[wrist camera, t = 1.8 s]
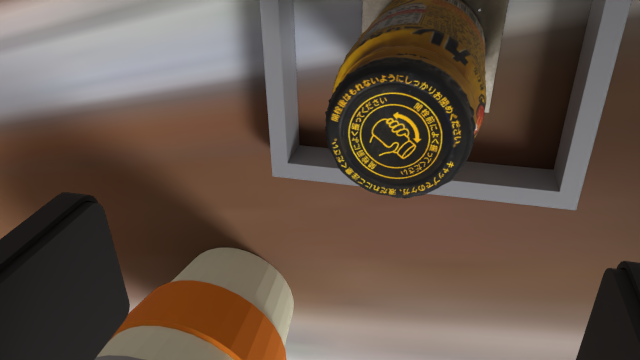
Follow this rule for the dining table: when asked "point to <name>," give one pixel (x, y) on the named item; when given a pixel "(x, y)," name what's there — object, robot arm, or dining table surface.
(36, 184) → the dining table surface
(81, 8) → the dining table surface
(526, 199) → the square frame
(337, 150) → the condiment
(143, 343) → the reusable coffee cup
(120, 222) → the dining table surface
